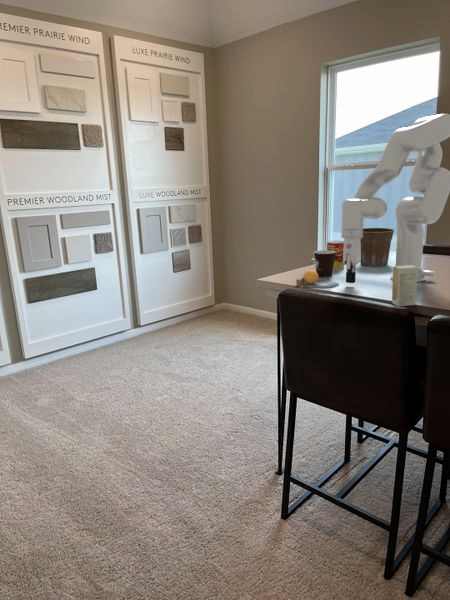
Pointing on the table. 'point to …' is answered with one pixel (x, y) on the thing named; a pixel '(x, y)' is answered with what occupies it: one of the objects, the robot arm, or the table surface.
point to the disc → (323, 284)
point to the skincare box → (404, 285)
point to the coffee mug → (324, 263)
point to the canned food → (337, 253)
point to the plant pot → (375, 246)
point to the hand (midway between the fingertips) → (350, 282)
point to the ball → (310, 276)
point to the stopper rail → (300, 281)
